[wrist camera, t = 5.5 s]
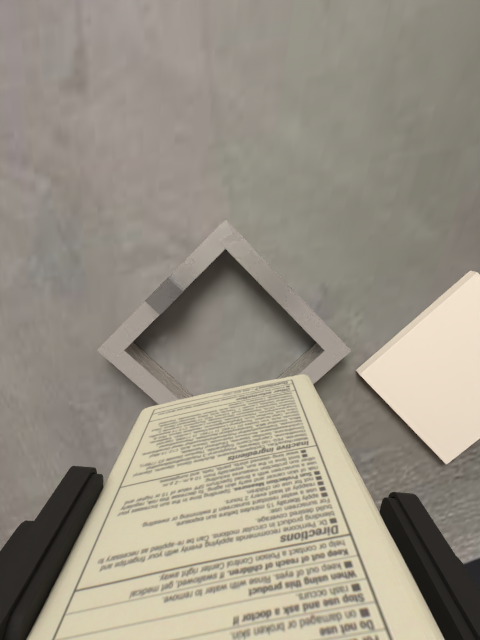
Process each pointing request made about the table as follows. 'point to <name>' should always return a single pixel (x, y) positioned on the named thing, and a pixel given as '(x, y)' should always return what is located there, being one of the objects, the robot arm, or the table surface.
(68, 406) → the table surface
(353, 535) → the skincare box
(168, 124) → the table surface
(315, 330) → the grey square frame
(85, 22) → the table surface
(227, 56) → the table surface
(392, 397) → the pad
